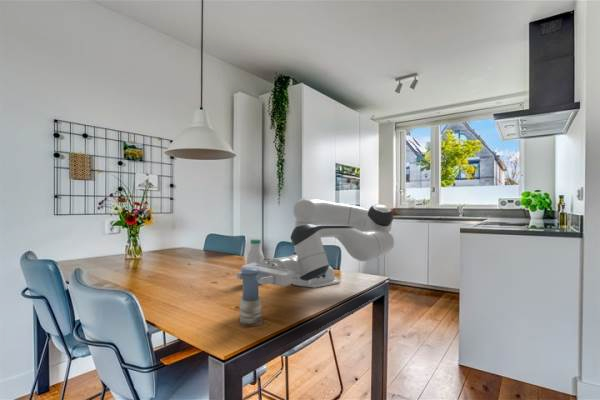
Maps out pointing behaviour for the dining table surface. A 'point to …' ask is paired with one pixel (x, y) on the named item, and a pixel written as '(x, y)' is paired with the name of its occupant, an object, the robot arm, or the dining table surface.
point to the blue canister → (250, 283)
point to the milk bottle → (255, 252)
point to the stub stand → (250, 313)
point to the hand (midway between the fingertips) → (248, 278)
